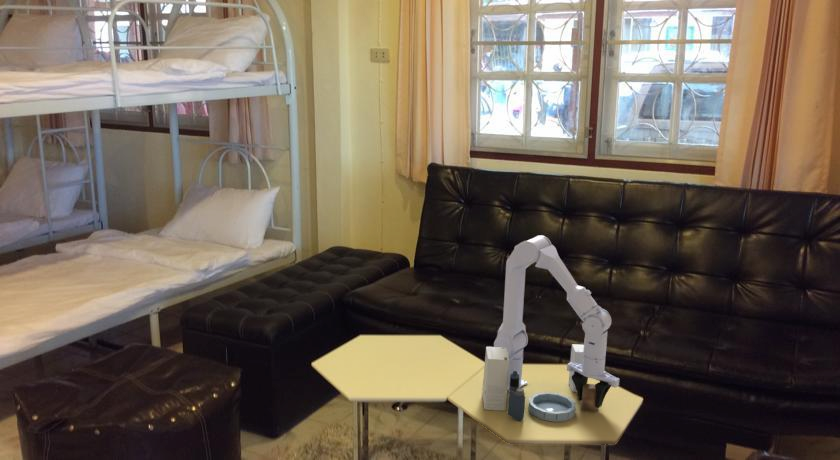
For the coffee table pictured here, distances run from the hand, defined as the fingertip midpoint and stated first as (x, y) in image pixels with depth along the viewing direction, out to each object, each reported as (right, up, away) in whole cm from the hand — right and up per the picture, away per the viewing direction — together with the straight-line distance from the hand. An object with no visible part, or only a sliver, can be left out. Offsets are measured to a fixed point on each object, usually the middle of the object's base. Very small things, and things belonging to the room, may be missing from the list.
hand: (589, 403), depth 190 cm
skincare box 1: (-26, -1, +1) cm, 26 cm away
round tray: (-11, -2, -2) cm, 11 cm away
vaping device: (-21, -2, -6) cm, 22 cm away
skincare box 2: (-1, +1, +13) cm, 13 cm away
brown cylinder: (0, -1, 0) cm, 1 cm away
